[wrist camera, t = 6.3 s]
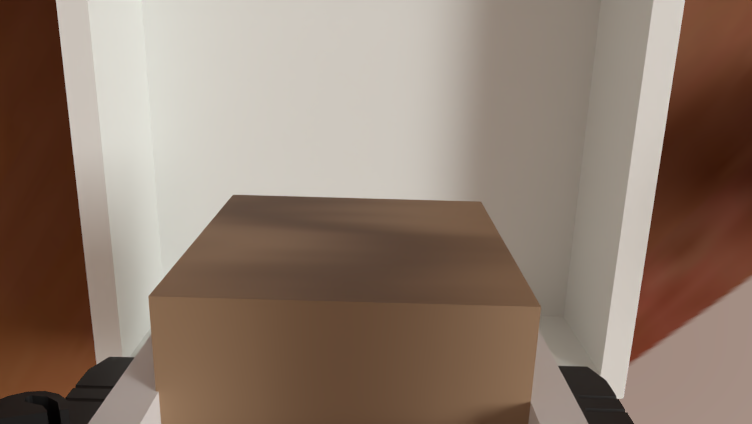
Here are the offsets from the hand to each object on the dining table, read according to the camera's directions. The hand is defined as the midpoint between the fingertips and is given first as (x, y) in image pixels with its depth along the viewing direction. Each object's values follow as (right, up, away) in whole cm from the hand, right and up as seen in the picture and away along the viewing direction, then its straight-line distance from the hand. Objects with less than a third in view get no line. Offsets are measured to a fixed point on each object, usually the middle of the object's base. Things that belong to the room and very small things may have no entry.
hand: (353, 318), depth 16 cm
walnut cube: (0, 0, 0) cm, 0 cm away
